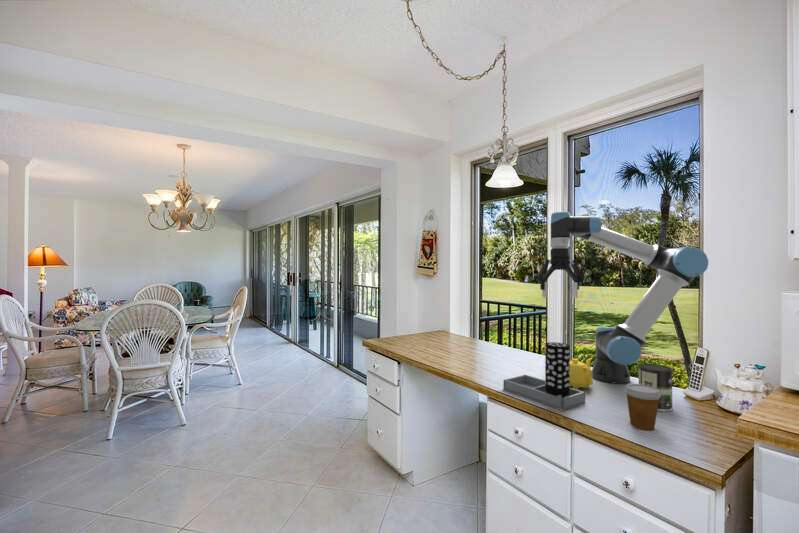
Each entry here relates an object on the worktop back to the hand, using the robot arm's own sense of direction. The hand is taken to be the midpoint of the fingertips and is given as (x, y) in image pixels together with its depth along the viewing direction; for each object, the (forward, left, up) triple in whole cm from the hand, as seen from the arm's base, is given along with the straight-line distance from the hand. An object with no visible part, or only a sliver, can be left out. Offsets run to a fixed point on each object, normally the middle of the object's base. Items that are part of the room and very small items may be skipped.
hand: (559, 297), depth 161 cm
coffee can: (-28, +21, -37) cm, 51 cm away
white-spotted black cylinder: (+6, +23, -36) cm, 43 cm away
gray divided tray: (+10, +18, -37) cm, 42 cm away
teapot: (-6, +4, -37) cm, 38 cm away
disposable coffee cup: (-16, +41, -37) cm, 57 cm away
